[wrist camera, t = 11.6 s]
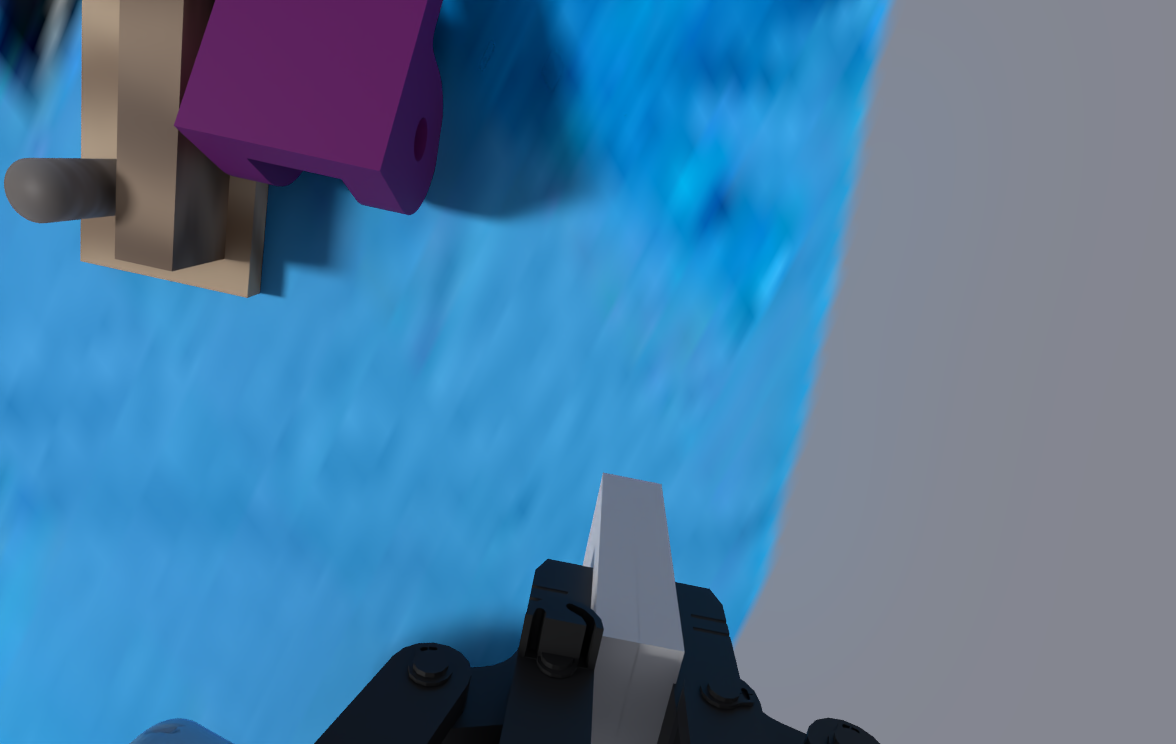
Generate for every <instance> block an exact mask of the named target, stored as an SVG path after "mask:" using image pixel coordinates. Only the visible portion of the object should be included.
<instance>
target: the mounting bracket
mask: <svg viewBox="0 0 1176 744" xmlns="http://www.w3.org/2000/svg"><path fill="white" fill-rule="evenodd" d="M442 1H443V0H215V3H214V6H213V9H212V12H211V15H210V18H209V21H208V24H207V27H206V30H205V33H204V36H203V39H202V42H201V45H200V48H199V51H198V54H197V57H196V60H195V63H194V66H193V69H192V72H191V75H190V78H189V81H188V84H187V87H186V90H185V93H184V96H183V99H182V102H181V105H180V108H179V111H178V114H177V117H176V120H175V123H174V126H175V127H176V128H177V129H178V130H179V131H180V132H181V133H182V134H183V135H184V136H185V137H186V138H187V139H189V140H190V141H191V142H192V143H193V144H194V145H195V146H196V147H197V148H198V149H199V150H200V151H202V152H203V153H204V154H205V155H206V156H207V157H208V158H209V159H210V160H211V161H212V162H213V163H214V164H216V165H217V166H218V167H219V168H220V169H221V170H222V171H223V172H225V173H226V174H228V175H231V176H234V177H238V178H243V179H248V180H252V181H257V182H261V183H266V184H270V185H275V186H286V185H289V184H291V183H292V182H293V181H295V180H296V179H297V178H298V177H299V175H300V174H301V173H302V171H307V172H312V173H316V174H321V175H325V176H330V177H334V178H339V179H342V181H343V182H344V183H345V185H346V186H347V188H348V189H349V190H350V192H351V193H352V195H353V196H354V197H355V199H356V200H357V201H358V202H359V203H360V204H362V205H365V206H370V207H374V208H379V209H384V210H388V211H393V212H397V213H402V214H406V215H411V214H413V213H415V212H416V211H417V210H418V209H419V207H420V206H421V204H422V202H423V200H424V199H425V196H426V194H427V192H428V189H429V186H430V183H431V180H432V177H433V173H434V170H435V166H436V159H437V152H438V146H439V139H440V132H441V125H442V117H443V94H442V83H441V77H440V73H439V69H438V66H437V63H436V59H435V56H434V52H433V36H434V31H435V27H436V23H437V20H438V16H439V12H440V9H441V5H442Z"/></svg>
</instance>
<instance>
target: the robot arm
mask: <svg viewBox="0 0 1176 744" xmlns="http://www.w3.org/2000/svg"><path fill="white" fill-rule="evenodd" d="M130 744H233V743H232V742H230V741H228V740H226V739H224V738H223V737H221V736H219V735H217V734H215V733H214V732H212V731H210V730H208V729H206V728H205V727H203V726H201V725H200V724H198V723H196V722H194V721H191V720H188V719H170V720H166V721H163V722H160V723H158V724H156V725H154V726H152V727H150V728H149V729H147V730H146V731H144V732H143V733H142V734H140V735H139V736H138V737H137V738H136V739H134V740H133V741H132V742H131V743H130ZM314 744H880V743H879V742H878V741H877V740H876V739H875V738H874V737H873V736H871V735H870V734H868V733H867V732H865V731H864V730H863V729H861V728H860V727H858V726H855V725H853V724H851V723H848V722H846V721H844V720H838V719H833V718H824V719H819V720H816V721H815V722H814V723H813V724H811V725H810V726H809V728H808V731H807V734H805V733H803V732H800V731H798V730H795V729H793V728H791V727H789V726H787V725H784V724H782V723H780V722H778V721H776V720H774V719H772V718H770V717H769V716H767V715H766V714H765V713H763V711H762V708H761V704H760V701H759V699H758V697H757V695H756V694H755V692H754V690H753V689H751V688H750V687H749V685H748V684H746V683H745V682H744V681H743V680H741V679H740V676H739V672H738V668H737V663H736V659H735V656H734V651H733V647H732V643H731V639H730V637H729V630H728V626H727V624H726V618H725V614H724V610H723V605H722V604H721V603H720V601H719V600H718V599H717V598H716V596H715V595H714V594H713V593H712V591H711V590H710V589H707V588H702V587H697V586H692V585H687V584H682V583H677V582H675V579H674V572H673V564H672V557H671V550H670V543H669V536H668V528H667V521H666V514H665V507H664V500H663V492H662V485H661V484H657V483H652V482H647V481H642V480H637V479H632V478H627V477H622V476H617V475H612V474H607V473H603V475H602V480H601V485H600V489H599V494H598V498H597V503H596V507H595V512H594V517H593V521H592V526H591V530H590V535H589V539H588V544H587V549H586V553H585V558H584V562H583V566H581V565H576V564H571V563H566V562H561V561H556V560H551V559H547V560H546V561H545V562H544V563H543V564H542V565H540V566H539V567H538V568H537V569H536V570H535V575H534V580H533V585H532V589H531V594H530V599H529V604H528V608H527V612H526V614H525V620H524V625H523V630H522V635H521V640H520V645H519V648H518V650H517V651H516V652H515V654H514V655H513V656H512V657H511V658H509V659H507V660H506V661H504V662H502V663H499V664H496V665H493V666H486V667H474V668H470V664H469V662H468V660H467V659H466V658H465V657H464V656H463V655H462V653H460V652H459V651H457V650H455V649H453V648H451V647H449V646H446V645H442V644H437V643H418V644H414V645H411V646H408V647H405V648H403V649H402V650H400V651H399V652H398V653H396V654H395V655H394V656H392V658H391V659H390V660H389V661H388V662H387V663H386V664H385V665H384V666H383V668H382V669H381V670H380V671H379V672H378V673H377V674H376V675H375V676H374V678H373V679H372V680H371V681H370V682H369V683H368V684H367V685H366V686H365V688H364V689H363V690H362V691H361V692H360V693H359V694H358V695H357V697H356V698H355V699H354V700H353V701H352V702H351V703H350V704H349V705H348V707H347V708H346V709H345V710H344V711H343V712H342V713H341V714H340V715H339V717H338V718H337V719H336V720H335V721H334V722H333V723H332V724H331V725H330V727H329V728H328V729H327V730H326V731H325V732H324V733H323V734H322V735H321V737H320V738H319V739H318V740H317V741H316V742H315V743H314Z"/></svg>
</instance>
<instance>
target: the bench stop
mask: <svg viewBox="0 0 1176 744" xmlns="http://www.w3.org/2000/svg"><path fill="white" fill-rule="evenodd" d="M214 3H215V0H82V104H81V158H24V159H20V160H17V161H16V162H14V163H13V164H12V165H11V166H10V167H9V168H8V170H7V172H6V175H5V179H4V188H5V193H6V196H7V198H8V201H9V202H10V204H11V206H12V207H13V208H14V209H15V211H16V212H17V213H19V214H20V215H21V216H22V217H24V218H26V219H27V220H30V221H32V222H36V223H50V222H59V221H69V220H79V219H81V261H83V262H88V263H92V264H97V265H101V266H106V267H110V268H115V269H119V270H124V271H128V272H133V273H137V274H142V275H147V276H151V277H156V278H160V279H165V280H169V281H174V282H178V283H183V284H187V285H192V286H196V287H201V288H205V289H210V290H215V291H219V292H224V293H228V294H233V295H237V296H242V297H246V298H248V297H251V296H253V295H256V294H259V293H260V285H261V272H262V260H263V247H264V235H265V222H266V210H267V197H268V185H269V184H266V183H261V182H257V181H252V180H248V179H243V178H238V177H234V176H231V175H228V174H226V173H225V172H223V171H222V170H221V169H220V168H219V167H218V166H217V165H216V164H214V163H213V162H212V161H211V160H210V159H209V158H208V157H207V156H206V155H205V154H204V153H203V152H202V151H200V150H199V149H198V148H197V147H196V146H195V145H194V144H193V143H192V142H191V141H190V140H189V139H187V138H186V137H185V136H184V135H183V134H182V133H181V132H180V131H179V130H178V129H177V128H176V127H175V126H174V123H175V120H176V117H177V114H178V111H179V108H180V105H181V102H182V99H183V96H184V93H185V90H186V87H187V84H188V81H189V78H190V75H191V72H192V69H193V66H194V63H195V60H196V57H197V54H198V51H199V48H200V45H201V42H202V39H203V36H204V33H205V30H206V27H207V24H208V21H209V18H210V15H211V12H212V9H213V6H214Z"/></svg>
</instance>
